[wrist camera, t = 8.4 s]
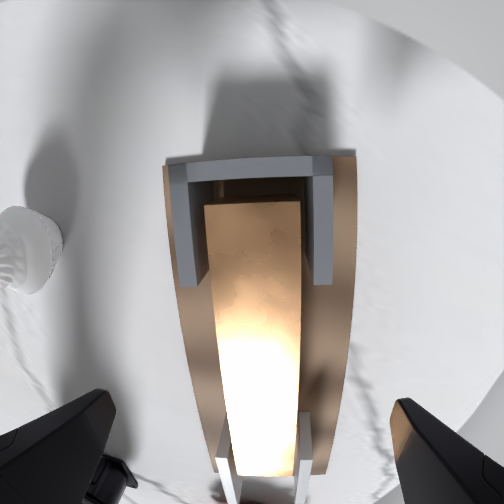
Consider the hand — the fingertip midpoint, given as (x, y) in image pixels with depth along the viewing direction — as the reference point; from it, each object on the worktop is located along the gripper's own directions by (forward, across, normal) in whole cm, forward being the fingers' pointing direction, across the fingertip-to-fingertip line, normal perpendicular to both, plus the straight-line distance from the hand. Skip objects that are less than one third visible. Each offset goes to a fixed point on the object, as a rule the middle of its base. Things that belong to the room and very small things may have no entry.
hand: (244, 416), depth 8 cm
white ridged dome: (+11, +16, -3) cm, 20 cm away
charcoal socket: (+11, 0, -4) cm, 12 cm away
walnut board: (+11, 0, +7) cm, 13 cm away
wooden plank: (+11, 0, +4) cm, 12 cm away
